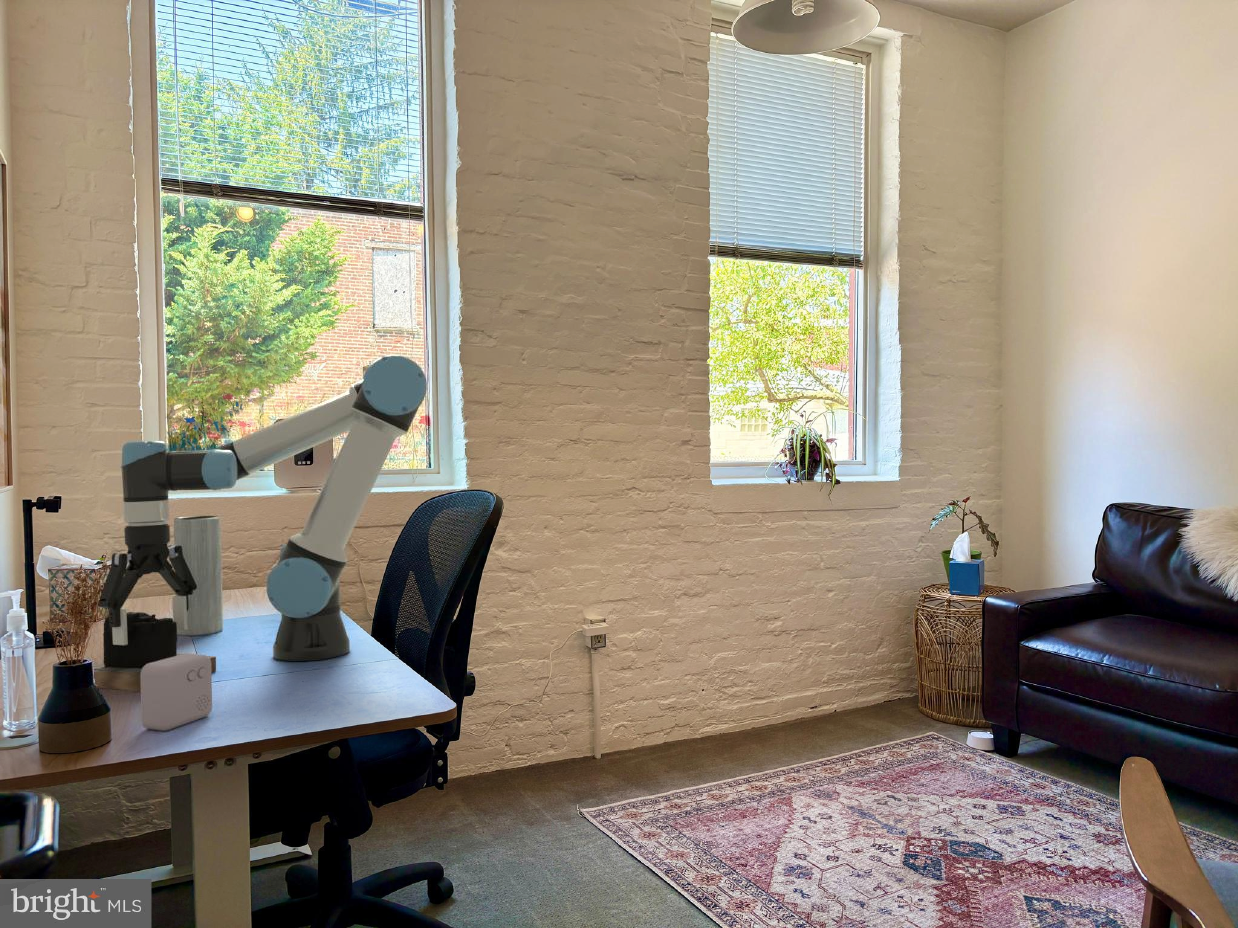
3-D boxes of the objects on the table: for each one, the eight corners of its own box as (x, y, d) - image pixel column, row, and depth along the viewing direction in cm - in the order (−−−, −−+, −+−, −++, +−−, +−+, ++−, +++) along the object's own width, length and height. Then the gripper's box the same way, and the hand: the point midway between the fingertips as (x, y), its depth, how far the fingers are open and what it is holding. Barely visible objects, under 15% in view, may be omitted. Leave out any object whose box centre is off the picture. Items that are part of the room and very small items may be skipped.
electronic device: (164, 734, 135) (163, 667, 135) (141, 730, 137) (140, 665, 137) (216, 715, 144) (215, 653, 144) (194, 712, 146) (193, 651, 146)
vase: (206, 636, 207) (203, 518, 206) (166, 635, 208) (164, 518, 208) (231, 627, 217) (229, 515, 216) (193, 627, 218) (191, 515, 218)
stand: (216, 670, 174) (215, 655, 174) (146, 692, 159) (146, 675, 159) (152, 665, 179) (152, 650, 179) (80, 685, 164) (79, 668, 164)
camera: (202, 657, 173) (201, 605, 172) (163, 670, 162) (162, 615, 162) (139, 654, 175) (138, 603, 175) (97, 667, 165) (96, 613, 165)
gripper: (184, 517, 182) (188, 622, 182) (71, 530, 158) (76, 650, 159) (213, 517, 179) (217, 624, 179) (103, 530, 156) (108, 652, 156)
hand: (151, 636), depth 169 cm, fingers open, 13 cm apart
